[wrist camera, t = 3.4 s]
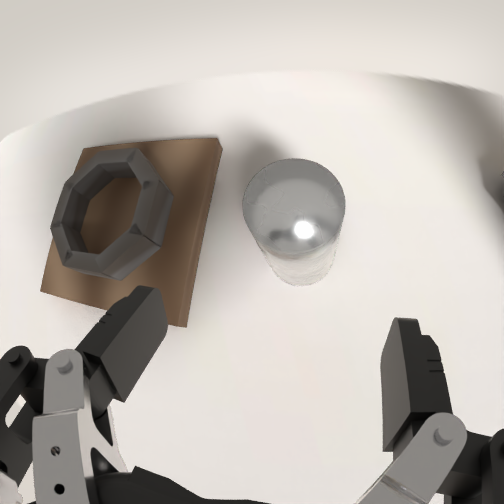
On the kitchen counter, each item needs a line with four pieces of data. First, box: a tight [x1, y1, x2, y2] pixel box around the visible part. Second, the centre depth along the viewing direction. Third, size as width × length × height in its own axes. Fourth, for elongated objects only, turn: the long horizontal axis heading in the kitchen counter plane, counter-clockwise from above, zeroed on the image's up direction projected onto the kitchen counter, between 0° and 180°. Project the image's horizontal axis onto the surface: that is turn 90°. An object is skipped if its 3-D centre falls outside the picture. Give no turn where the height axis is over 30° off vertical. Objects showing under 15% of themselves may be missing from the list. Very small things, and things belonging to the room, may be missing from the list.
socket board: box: [40, 138, 222, 328], centre depth 22 cm, size 14×14×4 cm
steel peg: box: [243, 159, 345, 286], centre depth 17 cm, size 4×4×8 cm
